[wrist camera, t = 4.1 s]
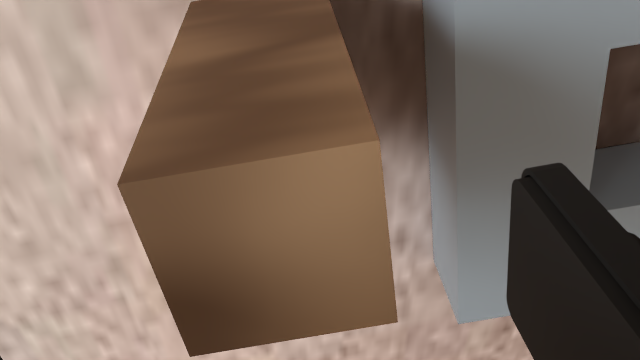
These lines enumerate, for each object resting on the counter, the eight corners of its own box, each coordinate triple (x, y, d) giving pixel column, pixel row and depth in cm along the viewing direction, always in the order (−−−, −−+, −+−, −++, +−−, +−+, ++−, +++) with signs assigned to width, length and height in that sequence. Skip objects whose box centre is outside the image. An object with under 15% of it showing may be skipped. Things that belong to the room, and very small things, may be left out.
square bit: (321, -21, 17) (379, 139, 8) (338, 99, 19) (397, 321, 11) (191, 1, 17) (117, 184, 8) (222, 119, 19) (190, 356, 11)
